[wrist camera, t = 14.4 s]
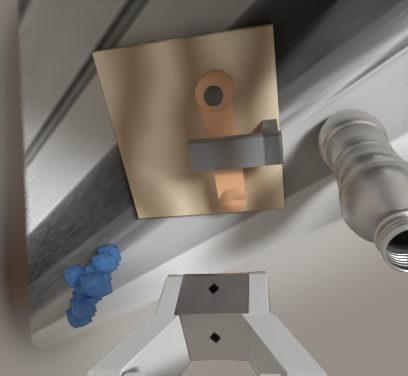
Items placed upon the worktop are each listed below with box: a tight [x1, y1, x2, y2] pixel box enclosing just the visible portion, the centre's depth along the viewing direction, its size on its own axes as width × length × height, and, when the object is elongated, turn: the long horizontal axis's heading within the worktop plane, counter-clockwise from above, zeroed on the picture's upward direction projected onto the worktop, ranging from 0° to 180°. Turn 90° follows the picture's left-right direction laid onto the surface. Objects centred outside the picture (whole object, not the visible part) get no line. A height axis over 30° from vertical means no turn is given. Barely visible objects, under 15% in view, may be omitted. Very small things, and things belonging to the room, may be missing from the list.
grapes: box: [63, 244, 121, 328], centre depth 47 cm, size 12×7×12 cm, turn 154°
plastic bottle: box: [318, 110, 408, 272], centre depth 32 cm, size 6×7×20 cm
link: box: [195, 70, 247, 212], centre depth 39 cm, size 15×4×2 cm, turn 11°
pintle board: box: [92, 24, 285, 218], centre depth 39 cm, size 18×20×6 cm
